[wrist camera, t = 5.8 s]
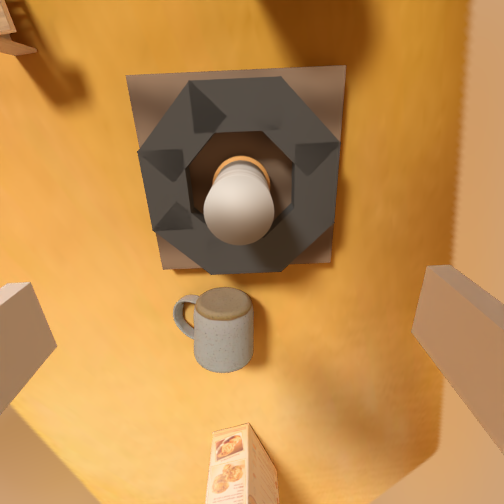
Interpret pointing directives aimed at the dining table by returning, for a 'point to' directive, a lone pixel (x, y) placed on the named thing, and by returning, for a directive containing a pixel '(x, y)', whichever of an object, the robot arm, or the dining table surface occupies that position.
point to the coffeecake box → (240, 469)
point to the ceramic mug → (219, 328)
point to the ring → (238, 120)
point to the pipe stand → (241, 157)
